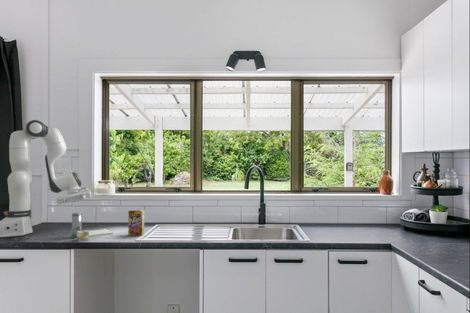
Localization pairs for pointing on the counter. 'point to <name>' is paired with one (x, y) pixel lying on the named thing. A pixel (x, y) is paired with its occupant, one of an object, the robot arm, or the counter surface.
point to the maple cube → (83, 235)
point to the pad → (99, 232)
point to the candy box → (136, 222)
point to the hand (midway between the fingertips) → (74, 200)
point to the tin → (76, 224)
